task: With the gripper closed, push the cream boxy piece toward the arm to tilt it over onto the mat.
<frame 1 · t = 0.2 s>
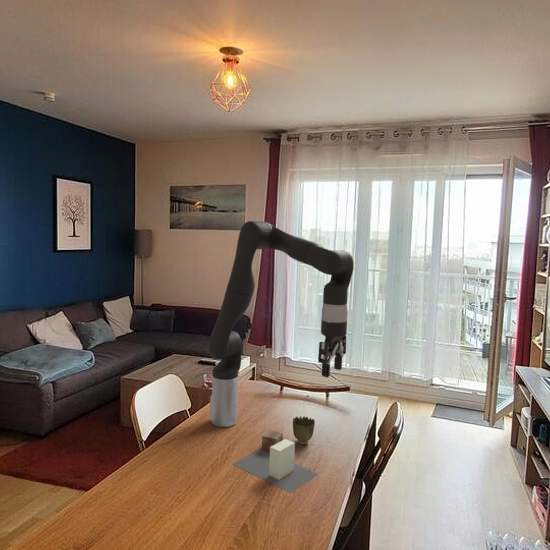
hand: (331, 372, 134), 29 cm above the table, tool pointing down, fingers open, 8 cm apart
cup: (302, 444, 151), on the table
walnut cube: (272, 449, 146), on the table
cream boxy piece: (281, 473, 131), resting on mat
mat: (274, 470, 133), on the table
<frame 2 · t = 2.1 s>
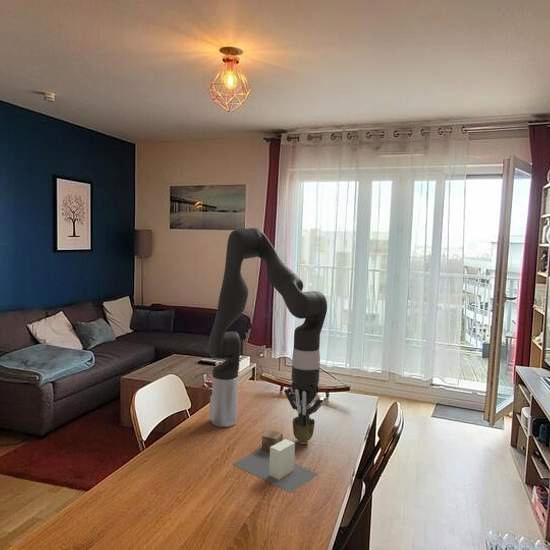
hand: (303, 426, 125), 17 cm above the table, tool pointing down, fingers closed
nothing on the table moved.
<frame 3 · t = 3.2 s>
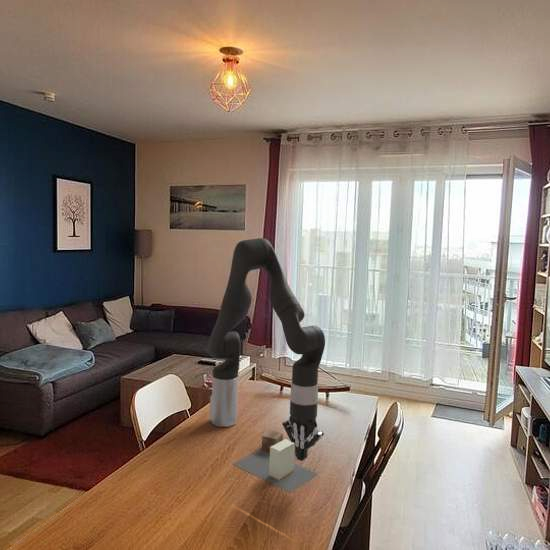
hand: (301, 459, 126), 7 cm above the table, tool pointing down, fingers closed
nothing on the table moved.
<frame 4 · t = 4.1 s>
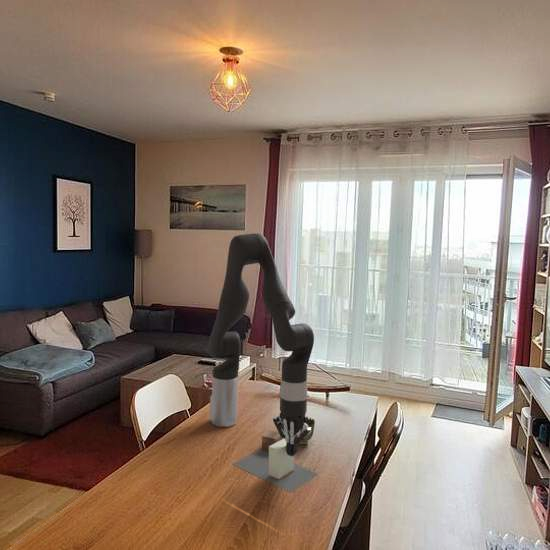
hand: (291, 454, 128), 7 cm above the table, tool pointing down, fingers closed
cream boxy piece: (281, 472, 131), point 1 cm above the table, touching gripper, mat
everything else where it was.
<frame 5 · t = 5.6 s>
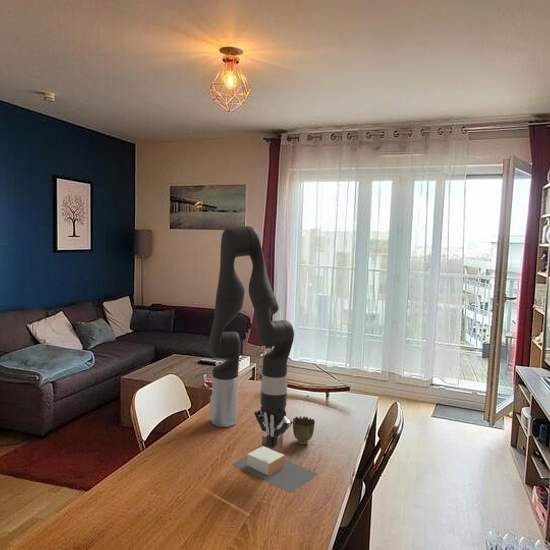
hand: (271, 446, 133), 7 cm above the table, tool pointing down, fingers closed
cream boxy piece: (277, 465, 132), point 2 cm above the table, tilted 90°, touching mat
everything else where it was.
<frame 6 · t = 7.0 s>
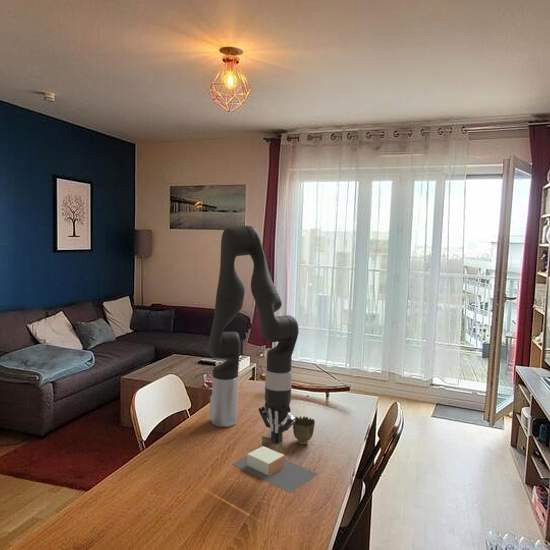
hand: (276, 443, 132), 9 cm above the table, tool pointing down, fingers closed
nothing on the table moved.
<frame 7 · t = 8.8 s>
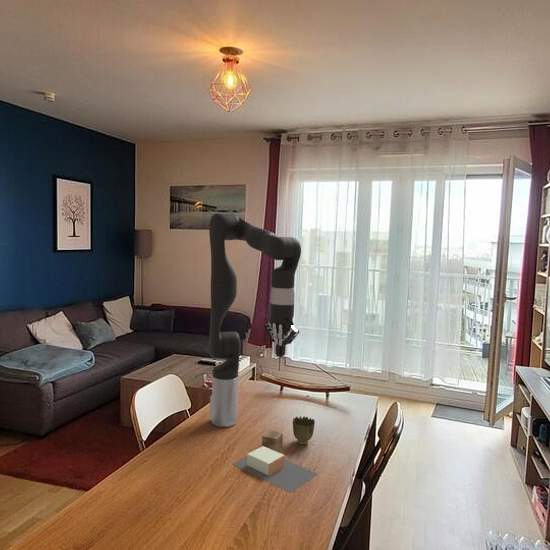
hand: (280, 356, 142), 31 cm above the table, tool pointing down, fingers closed
nothing on the table moved.
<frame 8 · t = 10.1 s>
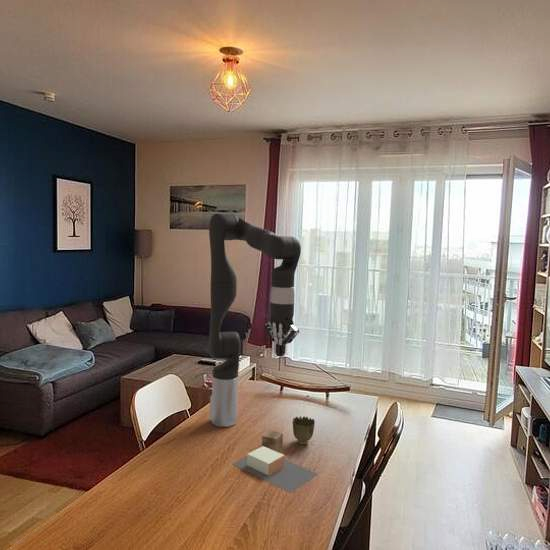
hand: (280, 355, 142), 31 cm above the table, tool pointing down, fingers closed
nothing on the table moved.
at the end: cream boxy piece tilted 90°; cream boxy piece inside the target area (0.3 cm from its centre), point 2.1 cm above the table; walnut cube touching table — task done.
